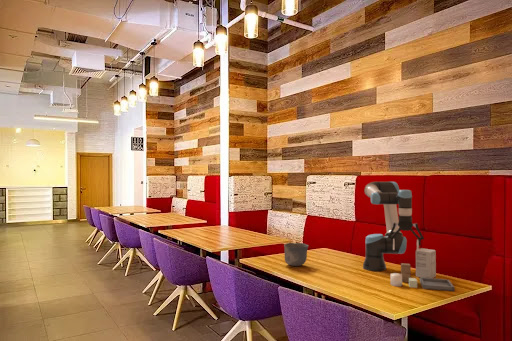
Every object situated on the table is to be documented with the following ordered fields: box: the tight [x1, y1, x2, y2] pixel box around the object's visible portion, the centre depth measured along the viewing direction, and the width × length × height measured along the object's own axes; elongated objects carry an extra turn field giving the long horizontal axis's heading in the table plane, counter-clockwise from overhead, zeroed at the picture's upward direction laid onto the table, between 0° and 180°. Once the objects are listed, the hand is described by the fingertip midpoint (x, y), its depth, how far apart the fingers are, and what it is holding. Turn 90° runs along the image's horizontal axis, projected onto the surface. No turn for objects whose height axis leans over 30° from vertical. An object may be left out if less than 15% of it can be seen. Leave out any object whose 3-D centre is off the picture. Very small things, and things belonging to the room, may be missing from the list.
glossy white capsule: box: [390, 272, 403, 287], centre depth 219 cm, size 6×6×6 cm
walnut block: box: [400, 262, 412, 283], centre depth 227 cm, size 5×5×10 cm
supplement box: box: [415, 247, 437, 278], centre depth 236 cm, size 10×9×17 cm
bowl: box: [283, 242, 309, 267], centre depth 265 cm, size 18×18×15 cm
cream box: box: [408, 277, 418, 289], centre depth 216 cm, size 6×4×4 cm, turn 163°
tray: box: [419, 277, 456, 292], centre depth 216 cm, size 16×16×2 cm
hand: (405, 250), depth 226 cm, fingers open, 13 cm apart
